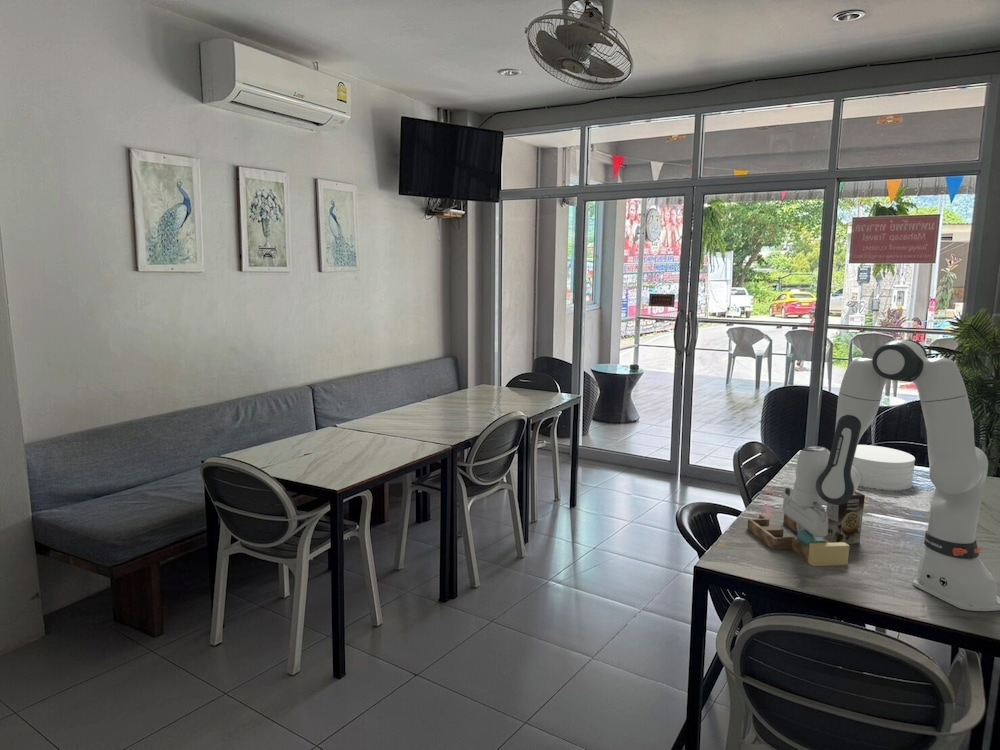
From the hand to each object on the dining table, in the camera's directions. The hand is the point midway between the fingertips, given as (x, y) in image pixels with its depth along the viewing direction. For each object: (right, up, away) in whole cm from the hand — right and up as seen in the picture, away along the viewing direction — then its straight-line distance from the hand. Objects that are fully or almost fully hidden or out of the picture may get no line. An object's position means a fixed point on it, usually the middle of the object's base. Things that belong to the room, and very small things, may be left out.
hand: (801, 538), depth 219 cm
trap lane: (-3, -2, +4) cm, 5 cm away
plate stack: (+61, +7, +72) cm, 95 cm away
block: (0, -2, -3) cm, 4 cm away
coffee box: (+15, -2, +5) cm, 16 cm away
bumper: (+2, -4, -12) cm, 13 cm away
